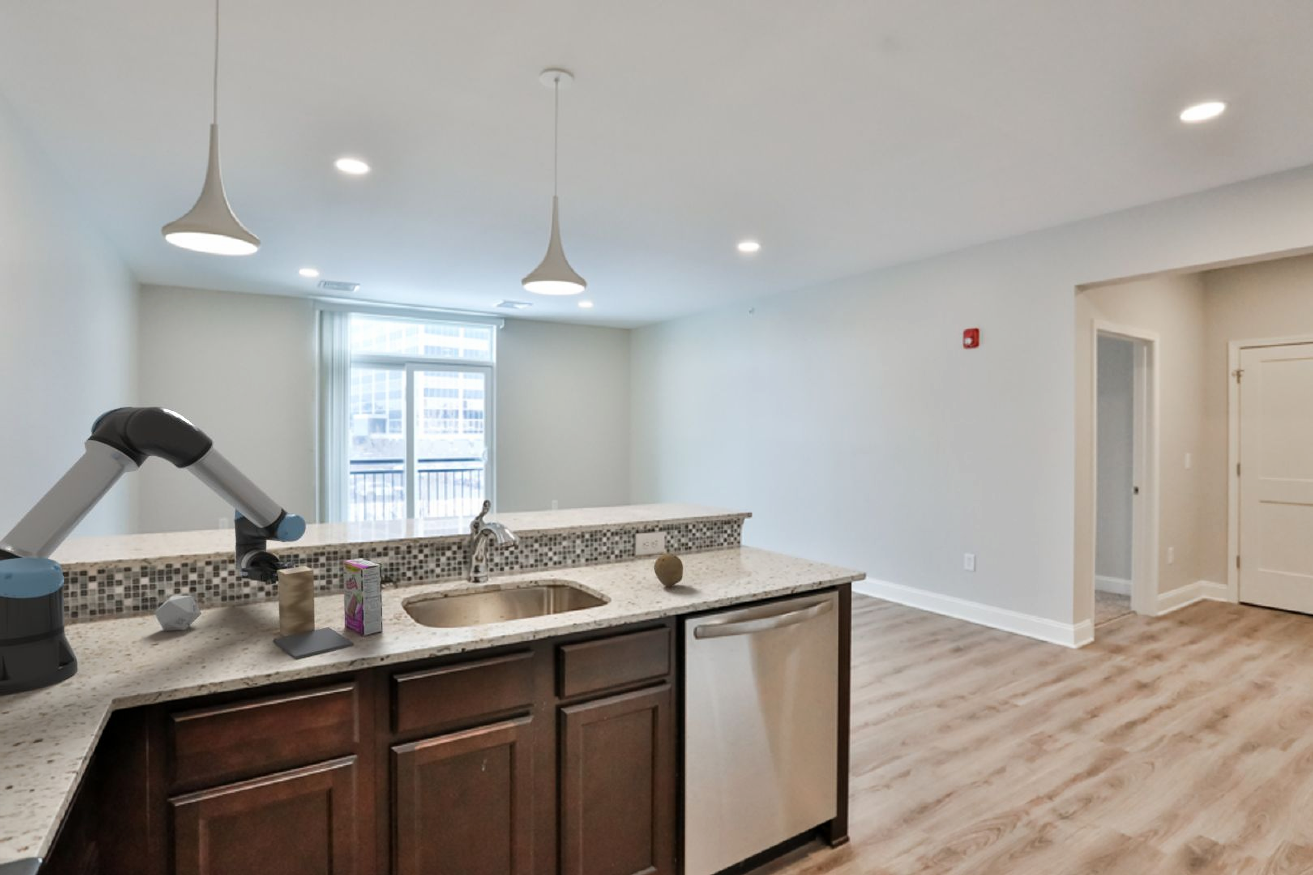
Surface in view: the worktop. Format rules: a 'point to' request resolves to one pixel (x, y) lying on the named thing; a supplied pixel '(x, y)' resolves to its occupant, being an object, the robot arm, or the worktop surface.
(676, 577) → the brown oval lump
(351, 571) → the candy bar box
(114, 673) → the worktop surface
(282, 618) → the wooden block
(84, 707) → the worktop surface
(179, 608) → the die
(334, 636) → the mat
